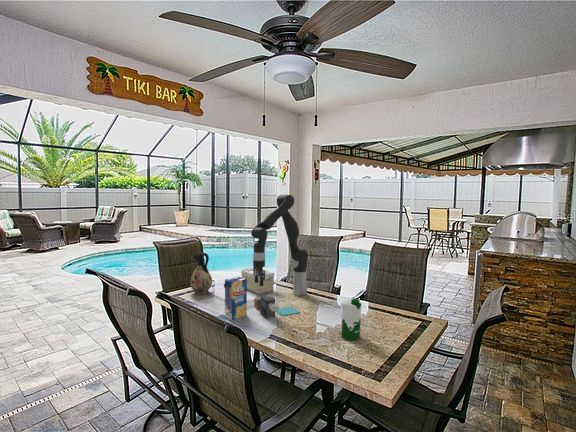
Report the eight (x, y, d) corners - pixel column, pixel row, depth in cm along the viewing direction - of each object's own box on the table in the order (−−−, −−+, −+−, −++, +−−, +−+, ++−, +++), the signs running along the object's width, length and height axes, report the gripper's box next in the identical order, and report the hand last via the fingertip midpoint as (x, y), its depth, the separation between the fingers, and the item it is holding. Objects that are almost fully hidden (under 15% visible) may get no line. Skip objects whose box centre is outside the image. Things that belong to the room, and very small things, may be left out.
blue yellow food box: (246, 314, 197) (246, 278, 195) (232, 319, 189) (232, 282, 187) (239, 312, 201) (239, 276, 200) (224, 316, 193) (224, 280, 192)
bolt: (267, 301, 201) (267, 297, 201) (279, 310, 187) (279, 305, 187) (261, 302, 199) (261, 298, 199) (272, 311, 185) (272, 307, 185)
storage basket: (275, 291, 246) (275, 271, 245) (257, 295, 236) (257, 275, 235) (257, 284, 264) (257, 266, 263) (240, 287, 254) (240, 268, 253)
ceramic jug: (186, 294, 235) (185, 253, 233) (197, 288, 249) (197, 249, 247) (207, 297, 230) (206, 254, 228) (217, 290, 244) (217, 251, 242)
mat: (290, 306, 212) (290, 306, 212) (299, 312, 201) (299, 312, 201) (274, 309, 206) (274, 308, 206) (282, 316, 196) (282, 315, 196)
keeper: (270, 312, 201) (270, 295, 200) (275, 316, 195) (275, 299, 194) (260, 314, 198) (260, 297, 197) (265, 318, 192) (265, 300, 191)
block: (260, 306, 212) (260, 297, 212) (263, 308, 208) (263, 299, 208) (254, 307, 210) (254, 298, 210) (256, 309, 206) (256, 300, 206)
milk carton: (354, 342, 162) (355, 303, 160) (338, 337, 167) (339, 299, 166) (362, 336, 168) (363, 298, 167) (347, 331, 174) (347, 295, 173)
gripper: (269, 260, 203) (268, 286, 204) (260, 256, 215) (260, 280, 216) (257, 261, 199) (257, 287, 200) (249, 257, 212) (249, 282, 213)
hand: (258, 284), depth 208 cm, fingers open, 8 cm apart
